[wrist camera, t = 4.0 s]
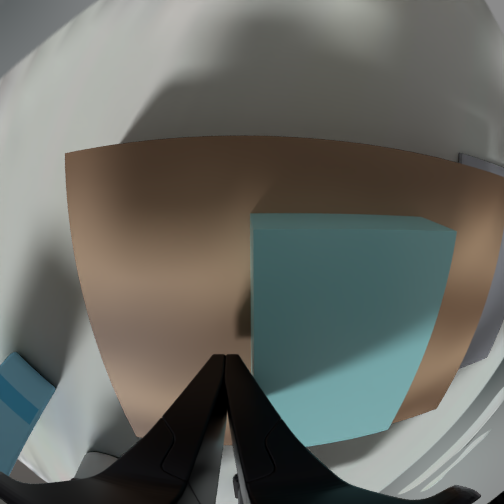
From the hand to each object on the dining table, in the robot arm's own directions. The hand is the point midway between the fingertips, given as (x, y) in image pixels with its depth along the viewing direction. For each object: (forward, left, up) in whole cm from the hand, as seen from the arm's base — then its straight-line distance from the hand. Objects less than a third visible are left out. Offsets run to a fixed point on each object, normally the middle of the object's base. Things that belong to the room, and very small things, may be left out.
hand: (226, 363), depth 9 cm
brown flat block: (0, -4, -5) cm, 6 cm away
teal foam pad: (0, -4, -1) cm, 4 cm away
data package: (-11, +19, -5) cm, 23 cm away
